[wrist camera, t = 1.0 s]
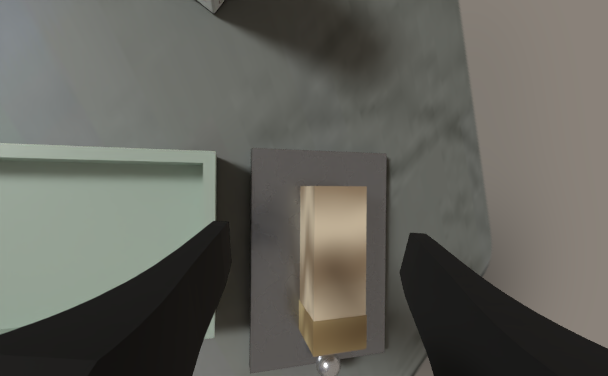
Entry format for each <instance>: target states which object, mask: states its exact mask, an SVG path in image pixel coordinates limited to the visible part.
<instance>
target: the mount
mask: <svg viewBox="0 0 608 376" xmlns="http://www.w3.org/2000/svg"><path fill="white" fill-rule="evenodd" d="M300 186H367V214H366V315H367V346H366V349H364V350H357V351H351V352H344V353H337V354H331V355H324V356H318V357H313V355H312V353H311V351H310V349H309V347H308V345H307V344H306V342H305V340H304V338H303V336H302V334H301V332H300V330H299V300H300ZM385 252H386V154H383V153H359V152H335V151H311V150H287V149H263V148H252V149H251V217H250V357H249V366H250V373H256V372H263V371H269V370H275V369H282V368H288V367H294V366H301V365H307V364H313V363H316V368H317V371H318V373H319V374H320V375H321V376H337V374H338V373H339V371H340V368H341V362H340V359H345V358H352V357H358V356H364V355H371V354H377V353H383V352H385Z"/></svg>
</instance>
